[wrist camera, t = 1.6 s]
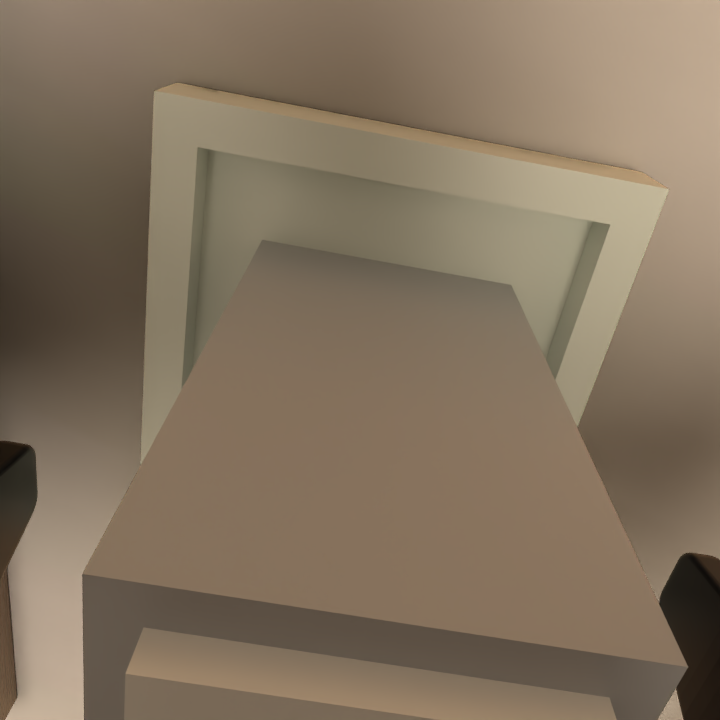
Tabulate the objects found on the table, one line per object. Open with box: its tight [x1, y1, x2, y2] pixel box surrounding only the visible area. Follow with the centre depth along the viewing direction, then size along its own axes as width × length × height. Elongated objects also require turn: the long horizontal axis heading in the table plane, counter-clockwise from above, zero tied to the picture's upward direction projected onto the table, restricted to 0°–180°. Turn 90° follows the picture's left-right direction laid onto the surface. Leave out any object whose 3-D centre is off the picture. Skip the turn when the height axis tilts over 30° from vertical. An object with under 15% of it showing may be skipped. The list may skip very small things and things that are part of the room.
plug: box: [82, 240, 688, 720], centre depth 9 cm, size 4×4×8 cm
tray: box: [140, 83, 669, 466], centre depth 13 cm, size 9×8×1 cm
